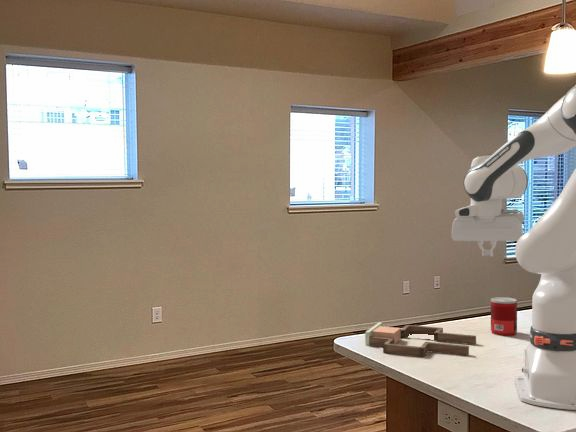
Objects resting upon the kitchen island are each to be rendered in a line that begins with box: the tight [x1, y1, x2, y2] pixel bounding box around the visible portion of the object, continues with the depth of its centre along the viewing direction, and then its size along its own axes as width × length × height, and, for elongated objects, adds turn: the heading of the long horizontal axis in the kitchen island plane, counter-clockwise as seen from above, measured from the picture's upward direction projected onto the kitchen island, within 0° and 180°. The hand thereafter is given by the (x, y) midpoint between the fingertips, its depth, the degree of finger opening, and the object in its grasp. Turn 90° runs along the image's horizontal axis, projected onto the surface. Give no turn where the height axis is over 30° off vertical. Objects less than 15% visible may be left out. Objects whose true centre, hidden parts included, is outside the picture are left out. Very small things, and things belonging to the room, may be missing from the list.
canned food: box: [490, 296, 518, 337], centre depth 201 cm, size 8×8×11 cm
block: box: [372, 325, 402, 344], centre depth 194 cm, size 7×7×4 cm
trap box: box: [364, 321, 477, 358], centre depth 190 cm, size 25×31×4 cm
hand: (487, 256), depth 186 cm, fingers closed
